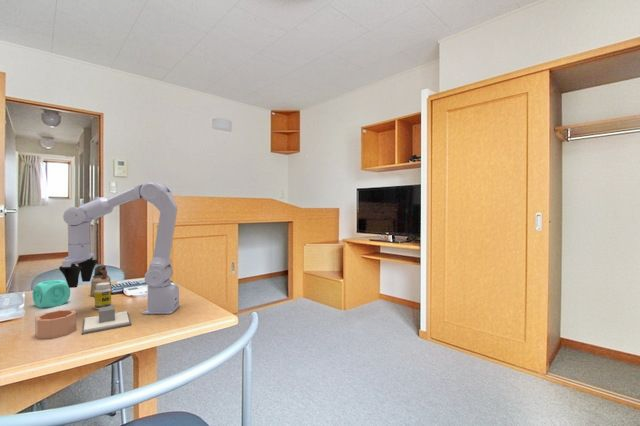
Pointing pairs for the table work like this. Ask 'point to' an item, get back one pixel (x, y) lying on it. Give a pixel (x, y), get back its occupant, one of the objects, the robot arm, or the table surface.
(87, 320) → the lid
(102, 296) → the supplement bottle
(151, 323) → the table surface
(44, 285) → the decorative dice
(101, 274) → the figurine
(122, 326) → the mat
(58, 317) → the bowl
